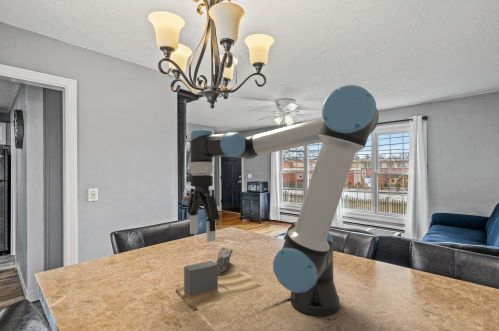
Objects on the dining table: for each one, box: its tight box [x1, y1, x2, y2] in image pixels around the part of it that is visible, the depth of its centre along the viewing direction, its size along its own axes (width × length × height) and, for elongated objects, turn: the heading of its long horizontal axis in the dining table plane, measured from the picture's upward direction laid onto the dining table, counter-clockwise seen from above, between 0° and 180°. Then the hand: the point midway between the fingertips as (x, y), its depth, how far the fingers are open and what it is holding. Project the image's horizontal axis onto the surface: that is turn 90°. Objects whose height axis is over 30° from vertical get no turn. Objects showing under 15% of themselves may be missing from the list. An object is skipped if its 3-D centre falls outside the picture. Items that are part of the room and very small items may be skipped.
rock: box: [215, 247, 233, 275], centre depth 111 cm, size 16×8×10 cm, turn 165°
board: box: [175, 271, 263, 311], centre depth 93 cm, size 16×26×1 cm, turn 125°
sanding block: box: [183, 260, 219, 299], centre depth 88 cm, size 10×5×9 cm, turn 125°
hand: (201, 237), depth 89 cm, fingers open, 13 cm apart
